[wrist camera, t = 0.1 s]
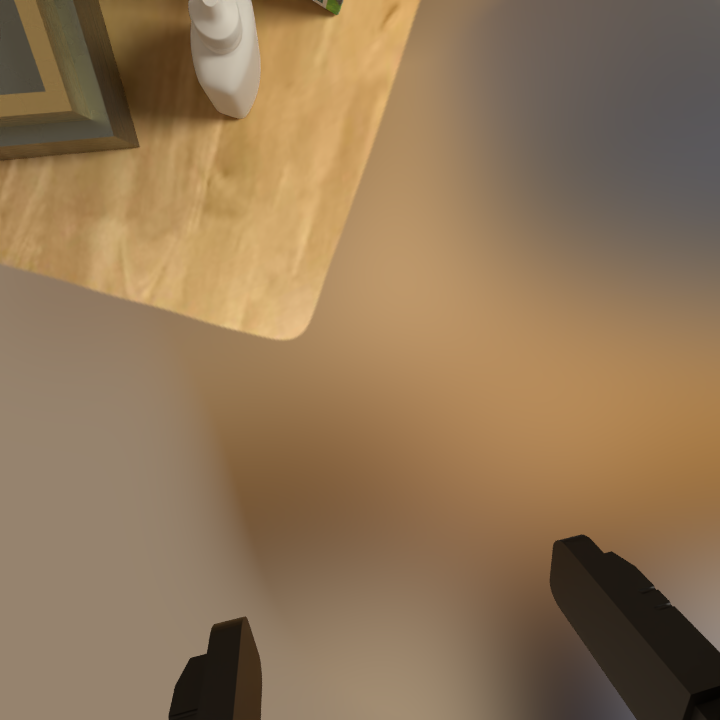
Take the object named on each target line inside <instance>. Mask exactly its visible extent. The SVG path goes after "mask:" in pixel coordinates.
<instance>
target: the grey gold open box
mask: <svg viewBox="0 0 720 720" xmlns="http://www.w3.org/2000/svg"><path fill="white" fill-rule="evenodd" d="M136 147H140V146H139V143H138V139H137V136H136V132H135V129H134V125H133V122H132V118H131V115H130V111H129V108H128V104H127V100H126V97H125V93H124V90H123V86H122V83H121V79H120V76H119V72H118V69H117V65H116V62H115V58H114V55H113V51H112V47H111V44H110V40H109V37H108V33H107V30H106V26H105V23H104V19H103V16H102V12H101V9H100V5H99V2H98V0H0V160H10V159H21V158H31V157H42V156H52V155H63V154H73V153H84V152H94V151H105V150H115V149H126V148H136Z"/></svg>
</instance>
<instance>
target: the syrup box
mask: <svg viewBox="0 0 720 720" xmlns="http://www.w3.org/2000/svg"><path fill="white" fill-rule="evenodd" d="M313 1H314V2H316V3H317V4H319V5H321V6H322V7H324V8H325V9H327V10H329V11H330V12H332V13H333V14H335V15H338V14H339V12H340V9H341V6H342V3H343V0H313Z"/></svg>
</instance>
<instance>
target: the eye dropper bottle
mask: <svg viewBox="0 0 720 720" xmlns="http://www.w3.org/2000/svg"><path fill="white" fill-rule="evenodd" d="M188 3H189V4H188V7H189V8H188V9H189V15H190V17H191V34H190V39H191V52H192V58H193V64H194V68H195V72H196V75H197V78H198V81H199V83H200V85H201V86H202V88H203V90H204V91H205V93H206V95H207V96H208V98H209V99H210V101H211V102H212V104H213V105H214V107H215V108H216V110H217V111H219V112H220V113H222V114H225V115H228V116H231V117H235V118H238V119H243V118H244V117H246V115H247V114H248V113H249V111H250V109H251V107H252V105H253V103H254V101H255V98H256V95H257V92H258V88H259V82H260V72H261V64H260V52H259V45H258V38H257V31H256V24H255V17H254V12H253V6H252V2H251V0H189V2H188Z"/></svg>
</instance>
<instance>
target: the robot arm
mask: <svg viewBox="0 0 720 720" xmlns="http://www.w3.org/2000/svg"><path fill="white" fill-rule="evenodd" d="M550 587H551V590H552V594H553V596H554V599H555V601H556V603H557V605H558V606H559V608H560V609H561V611H562V612H563V613H564V615H565V616H566V618H567V619H568V621H569V622H570V624H571V625H572V627H573V628H574V629H575V631H576V632H577V634H578V635H579V637H580V638H581V640H582V641H583V642H584V644H585V645H586V646H587V648H588V649H589V651H590V652H591V654H592V655H593V657H594V658H595V660H596V661H597V663H598V664H599V666H600V667H601V669H602V670H603V671H604V672H605V674H606V676H607V677H608V678H609V680H610V682H611V683H612V684H613V686H614V687H615V689H616V690H617V692H618V693H619V695H620V696H621V697H622V699H623V700H624V702H625V703H626V705H627V706H628V707H629V709H630V710H631V712H632V713H633V715H634V716H635V718H636V719H637V720H720V652H719V651H718V650H717V649H716V648H715V647H714V646H713V645H712V644H711V643H710V642H709V641H708V640H707V639H706V638H705V637H704V636H703V635H702V634H701V633H700V632H699V631H698V630H697V629H696V628H695V627H694V626H693V625H692V624H691V623H690V622H689V621H688V620H687V619H686V618H685V617H684V616H683V615H682V614H681V612H680V611H678V610H677V609H676V608H675V607H673V606H672V605H671V604H670V601H669V600H667V598H666V597H665V596H664V595H663V594H662V593H661V592H660V591H659V590H656V589H655V588H654V585H653V584H652V583H651V582H650V581H649V580H648V579H647V578H646V577H645V576H644V575H643V574H642V573H641V572H640V571H639V570H638V569H637V568H636V567H635V566H634V565H632V564H631V563H629V562H628V561H626V560H624V559H623V558H621V557H620V556H618V555H616V554H615V553H613V552H608V553H603V552H602V551H601V550H600V549H599V547H598V546H597V545H595V543H594V542H593V541H592V540H591V539H590V538H589V537H587V536H585V535H578V536H574V537H570V538H566V539H562V540H557V541H555V543H554V545H553V553H552V562H551V572H550ZM261 697H262V672H261V662H260V657H259V653H258V650H257V647H256V644H255V641H254V637H253V635H252V631H251V628H250V625H249V623H248V619H247V617H241V618H237V619H233V620H229V621H225V622H221V623H217V624H214V625H213V627H212V629H211V633H210V638H209V644H208V650H207V654H204V655H200V656H196V657H192V658H190V659H189V661H188V663H187V665H186V667H185V669H184V671H183V673H182V674H181V676H180V678H179V680H178V682H177V683H176V685H175V689H174V693H173V698H172V703H171V707H170V712H169V720H261V719H260V718H261Z"/></svg>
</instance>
